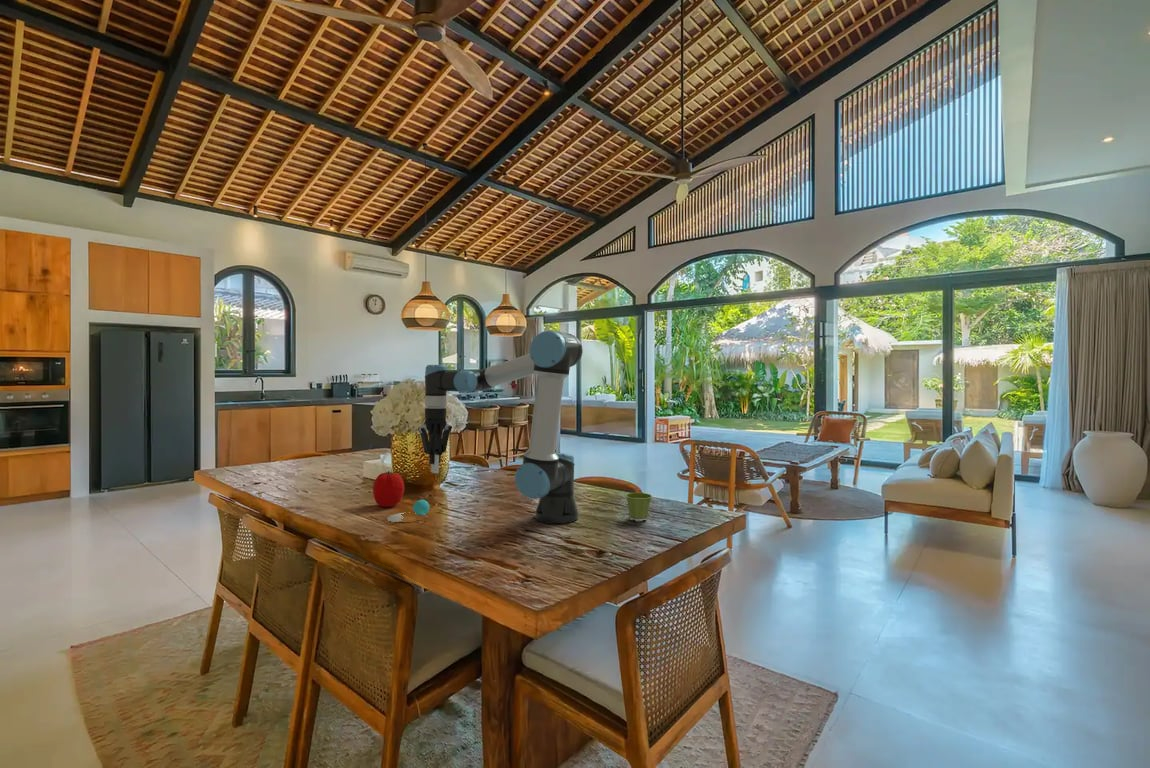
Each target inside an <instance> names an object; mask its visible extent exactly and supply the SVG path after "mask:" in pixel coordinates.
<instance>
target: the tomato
mask: <svg viewBox="0 0 1150 768" xmlns="http://www.w3.org/2000/svg"><path fill="white" fill-rule="evenodd" d="M405 489H406V488H405V482H404V479H403V477H402V476H401V474H399V473H397V472H396V471H394V472H392V471H390V470H388V471H386V472H381V473H380V474H379V475H378V476H377V477H376V478H375V479H374V482H373V485H372V494H373V499H374V500H375V503H376V504H377V505H378V506H380V507H383V508H392V507H394V506H397V505H398V504H399V503H400V502H401V500H402V498H403V497H404V494H405Z"/></svg>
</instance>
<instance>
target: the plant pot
mask: <svg viewBox="0 0 1150 768" xmlns="http://www.w3.org/2000/svg"><path fill="white" fill-rule="evenodd" d="M624 496H625V499H626V501H627V508H628V514H629V515H628V516H629V519H630V518H633V519H645V518H647V517H649V510H650V503H651V500H652V498H653V495H652V494H650V493H645V492H629V493H626V494H625V495H624ZM647 519H648V518H647Z"/></svg>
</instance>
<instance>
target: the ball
mask: <svg viewBox="0 0 1150 768" xmlns="http://www.w3.org/2000/svg"><path fill="white" fill-rule="evenodd" d="M412 508H413V509H412V510H413V512H415V514H417V515H420V516H421V515H426V514H427V513H429V511H430V504H429V502H428V501H427V500H425V499H419V500H416V501H415V503H414V504H413V507H412Z"/></svg>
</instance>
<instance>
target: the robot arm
mask: <svg viewBox="0 0 1150 768" xmlns="http://www.w3.org/2000/svg"><path fill="white" fill-rule="evenodd" d="M582 356H583V345H582V342H581V340H579V338H578V337H577V336H575V335H573V334H571V333H567V332H563V331H562V332H561V331H557V330H544V331H542V332H539V333H538V334H536V335H535V336H534V338H533V339H532V340H531V342H530V346H529V353H526V354H524V355H521V356H518V357H515V358H512V359H509V360H507V361H503V362H501V363H497V364H495V365H491V366H488V367H486V368H483V369H479V370H467V369H465V370H464V369H462V370H449V369H447V368H448V367H447V365H445V364H427V365H426V366H425V371H424V374H425V375H424V386H425V387H424V390H425V391H424V407H425V409H424V423H423V425H422V426H419V427H418V428H417V431H418V432H419V434H420V438H421V442H422V448H423V452H424V453H425V454H427V455H428V456H429V457H428V458H429V460H428V462H429V465H430V472H431V473H432V474H439V473H440V464H441V462H442V461H441V460H442V455H443V454H444V453H446V451H447V447H448V442H449V438H450V433H451V431H452V429H453V426H452V425H449V424H448V423H447V420H446V418H447V408H446V407H447V392H453V393H455V392H456V393H472V392H487V391H490V390H492V389H493V388H494V387H498V386H500V385H503V384H507V383H510V382H513V381H517V380H520V379H523V378H526V377H527V378H528V377H530V376H532V375H533V376H534V375H535V376H536V385H535V395H534V402H533V403H534V404H533V410H532V420H531V421H532V422H531V429H530V437H529V446H528V448H527V450H526V451H525V452H524V453H523V459H522V464H521V465H520V466H518V468H517V469H516V472H515V473H514V474H515V475H514V483H515V485H516V488H517V489H518V490H519V492H520V493H521V494H522V495H524V497H527V498H528V499H538V498H539V499H538V502H537V506H536V509H535V512H534V516H535V517H534V519H535V518H536V519H537V521H538V522H540V521H541V522H540V523H544V522H547V523H546V524H553V523H561V524H568V523H567V522H570V523H573V522H572V521H574V522H576V521H578V520H579V511H578V507H577V505H576V500H575V496H574V495H575V493H574V490H575V489H574V487H575V486H574V485H575V465H576V464H575V457H574V455H573V454H572V453H563V452H556V449H557V439H558V429H559V421H560V414H561V405H562V397H563V389H564V380H565V379H566V378H567V377H569V375H570V370H571V367H574V366H576V365H577V364H578V363H579V362H580V360H581V359H582ZM536 519H535V520H536ZM575 520H576V521H575Z"/></svg>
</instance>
